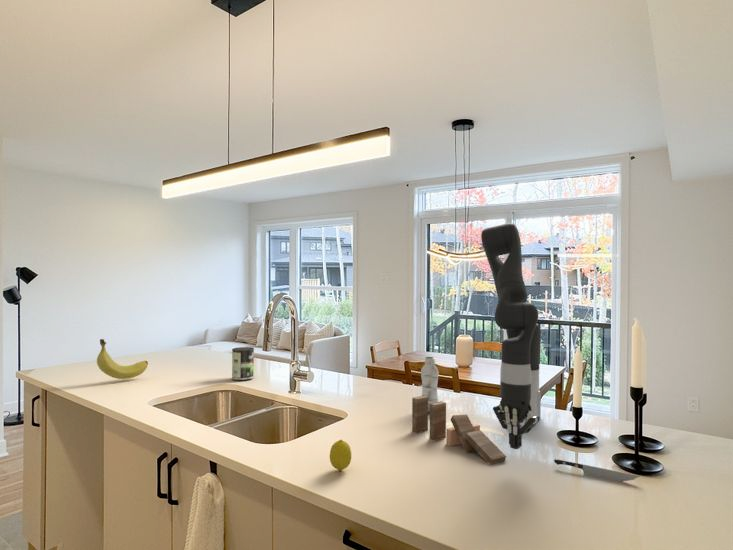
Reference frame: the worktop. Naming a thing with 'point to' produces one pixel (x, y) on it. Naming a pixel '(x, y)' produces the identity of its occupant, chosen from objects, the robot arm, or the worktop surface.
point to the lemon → (340, 455)
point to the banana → (118, 366)
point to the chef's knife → (600, 471)
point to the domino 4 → (453, 437)
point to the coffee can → (242, 363)
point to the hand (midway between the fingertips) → (515, 447)
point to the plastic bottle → (429, 380)
